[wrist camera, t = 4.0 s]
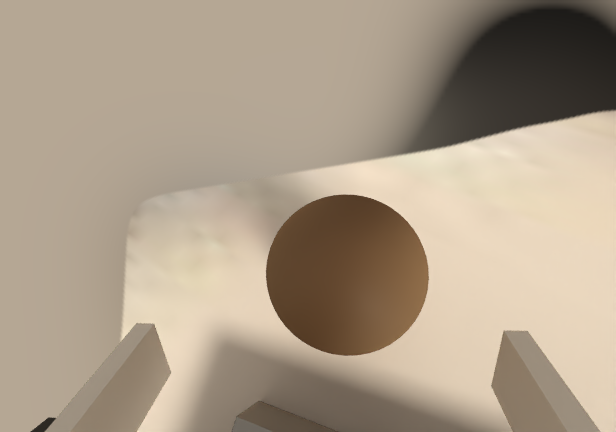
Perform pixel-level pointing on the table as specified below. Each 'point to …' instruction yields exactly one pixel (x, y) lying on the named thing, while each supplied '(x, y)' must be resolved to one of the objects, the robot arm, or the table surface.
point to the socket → (273, 421)
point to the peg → (347, 275)
